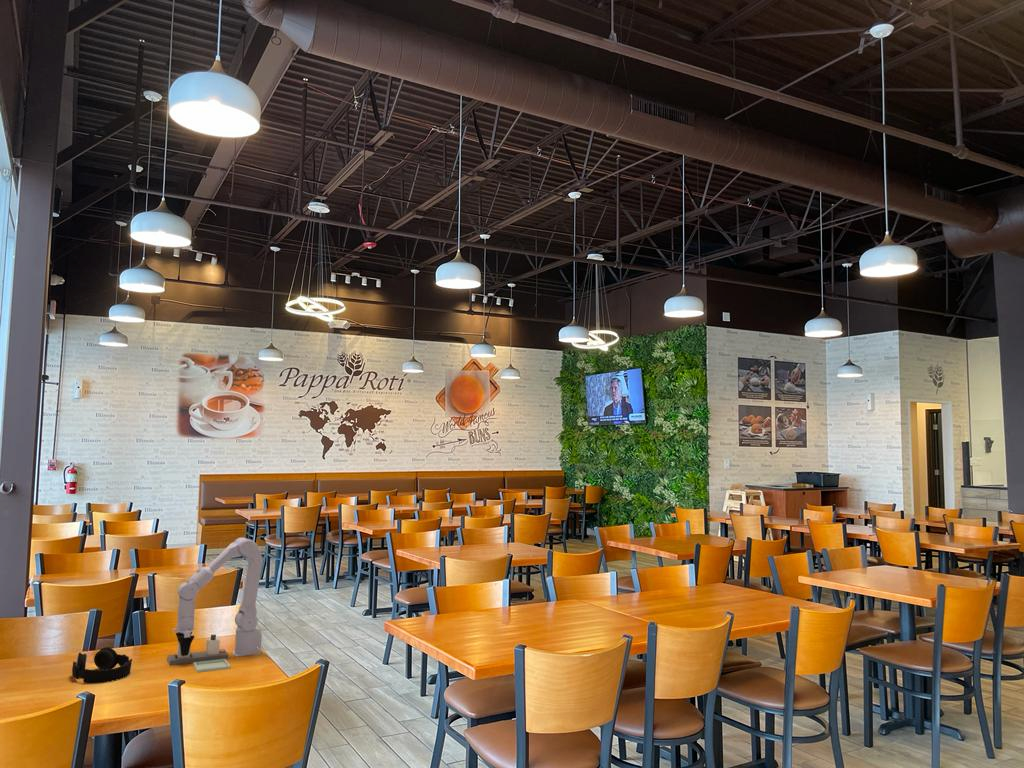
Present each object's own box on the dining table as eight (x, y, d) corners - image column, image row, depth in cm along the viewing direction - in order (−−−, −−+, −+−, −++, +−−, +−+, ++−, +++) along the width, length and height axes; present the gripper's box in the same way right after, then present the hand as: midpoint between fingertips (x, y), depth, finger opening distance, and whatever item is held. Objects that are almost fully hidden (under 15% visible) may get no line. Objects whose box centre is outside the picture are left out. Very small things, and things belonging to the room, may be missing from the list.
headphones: (112, 642, 269) (143, 656, 258) (109, 664, 269) (140, 679, 258) (60, 652, 254) (91, 668, 243) (57, 675, 254) (88, 693, 243)
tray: (225, 662, 274) (225, 658, 274) (230, 669, 265) (230, 666, 265) (193, 665, 269) (193, 662, 269) (197, 673, 259) (197, 669, 260)
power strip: (224, 654, 285) (225, 631, 286) (228, 659, 278) (229, 636, 279) (167, 660, 276) (168, 636, 276) (169, 666, 268) (171, 641, 269)
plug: (188, 660, 277) (189, 636, 278) (189, 662, 273) (191, 638, 274) (176, 661, 275) (178, 637, 276) (177, 664, 271) (179, 639, 272)
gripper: (172, 613, 280) (169, 650, 279) (176, 620, 268) (174, 659, 266) (192, 611, 284) (190, 648, 282) (197, 618, 271) (195, 657, 270)
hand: (183, 653), depth 274 cm, fingers open, 5 cm apart
